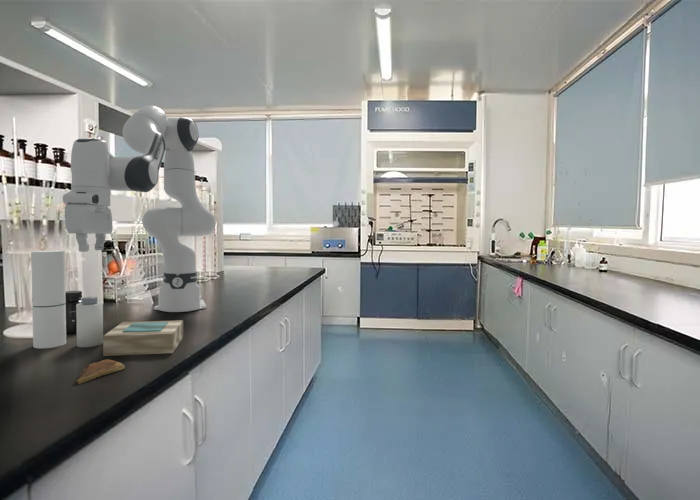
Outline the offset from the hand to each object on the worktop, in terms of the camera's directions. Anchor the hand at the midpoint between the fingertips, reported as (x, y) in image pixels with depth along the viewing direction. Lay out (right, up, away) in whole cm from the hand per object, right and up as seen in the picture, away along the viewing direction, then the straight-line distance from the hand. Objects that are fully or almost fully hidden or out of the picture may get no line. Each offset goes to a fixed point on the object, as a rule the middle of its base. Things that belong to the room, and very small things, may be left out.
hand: (91, 250), depth 110 cm
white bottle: (-1, -25, +1) cm, 25 cm away
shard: (+15, -27, -20) cm, 37 cm away
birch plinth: (+15, -26, 0) cm, 29 cm away
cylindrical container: (-11, -25, 0) cm, 27 cm away
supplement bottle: (-14, -24, +13) cm, 31 cm away
